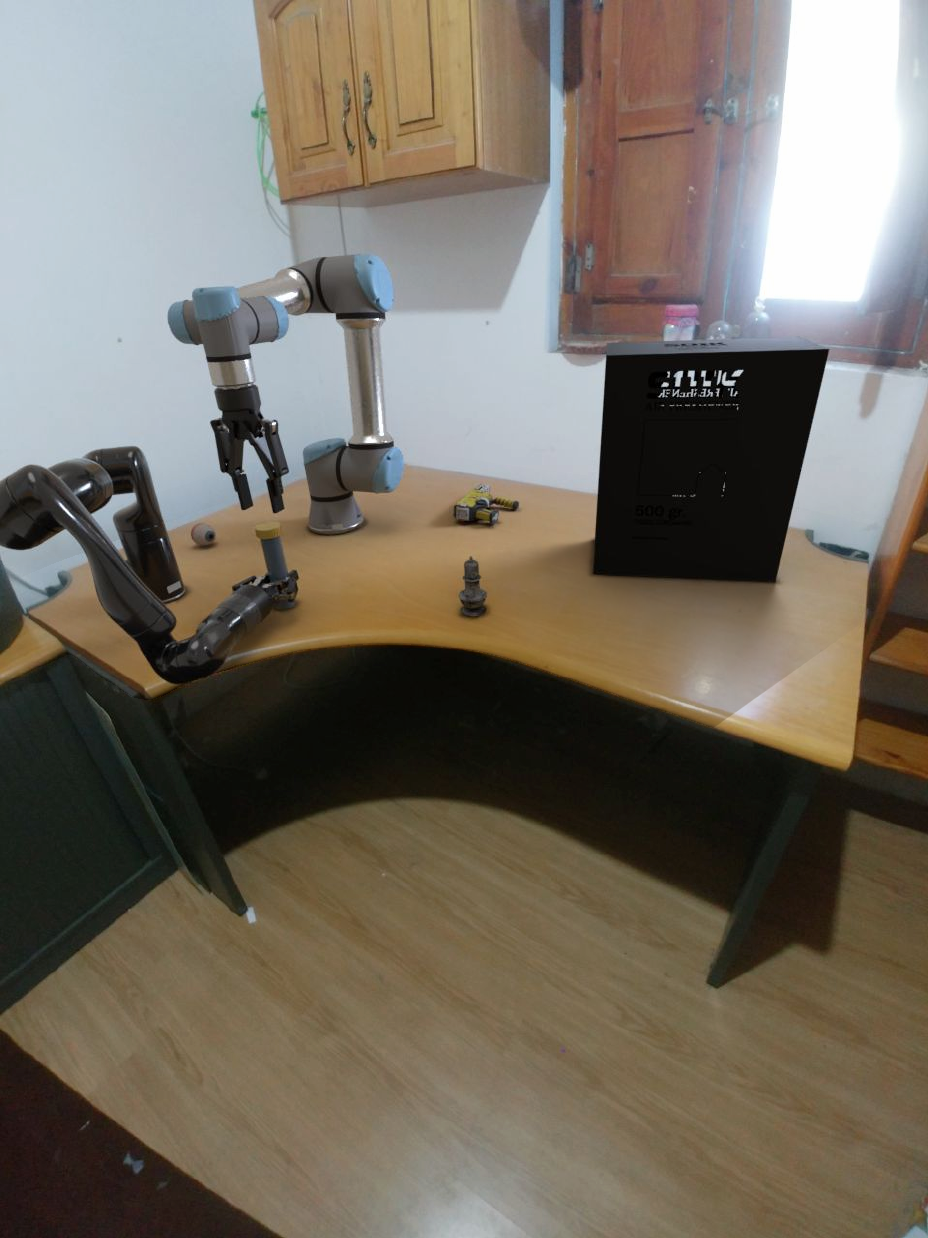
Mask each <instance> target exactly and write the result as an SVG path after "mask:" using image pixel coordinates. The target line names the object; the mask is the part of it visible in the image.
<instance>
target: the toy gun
mask: <svg viewBox="0 0 928 1238" xmlns="http://www.w3.org/2000/svg"><path fill="white" fill-rule="evenodd" d="M493 505H495V506H500V507H504V508H510V509H512V510H514V511H516V510H518V509H519V507H520V502H519V501H518V500H512V499H508V498H504V497H500V496H496V497H495V498H493V496H492V494H491V485H490V484H488V483H486V484H485V483H482V482H481V483H480V484H479V485H477V486H476V487H475V488H473V489H471V491H469V492H468V493H467V494H465V496H464V497H462V498H461V499H460V500H459V501H458V502H456V503H455V504H454V505H453V511H452V513H453V514H452V517H453V518H454V519H455V520H457V522H462V523H464V522H465V521H467V522H471V521H477V520H482V521H483V520H484V521H486V522H489V525H492V526H493V524H495V523H497V522H498V521H499V515H500V509H498V508H494V510H493V509H492V507H491V506H493Z"/></svg>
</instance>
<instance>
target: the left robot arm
mask: <svg viewBox="0 0 928 1238" xmlns="http://www.w3.org/2000/svg"><path fill="white" fill-rule="evenodd" d="M127 494H134V495H135V500H134V501H133V502H132V503H130V504H129V505H127V506H124V507H122V508H120V509H119V510H117V511H115V513H113V515H112V522H113V525H114V527H115V530H116V533H117V535H118V538H119V541H120V544H121V546H122V549H123V552H124V555H125V557H126V559H125V558H124V556H123V555H122V554H121V553H120V551H119V550H118V549H117V547H116V545H115V544H114V542H112V540H111V538H110V537H109V536H108V535H107V533H106V532H105V531H104V530H103V528H102V526H100V524H99V523H98V521H97V520H96V519H95V518H94V516H93V514H95V513H96V512H98V511H100V510H101V509H103V508H104V507H106V506H107V505H108V504H109V502H110V501H111V499H112V497H113V496H119V495H127ZM65 530H66V531H67V532H68V533H69V534H70V535H71V536H72V537H73V538H74V539H75V541H77V543H78V544H79V545H80V547H81V548H82V551H83V552H84V554H85V556H86V558H87V559H86V560H87V561H88V565H89V567H90V571H91V576H92V581H93V585H94V589H95V592H96V597H97V599H98V602H99V604H100V606H101V608H102V610H103V611H104V612H105V613H106V615H107V616H108V617H109V618H110V619H111V620H112V621H113V622H114V623H115V624H116V625H118V627H120V629H122V631H123V632H125V633H126V634H127V635H128V636H129V637H130V638H131V639H133V641H134V642H135V643H136V645H138V648H139V650H140V651H141V653H142V655H143V656H144V658H145V659H146V661H147V663H148V664H149V666H150V667H151V669H152V670H153V672H154V673H155V674H156V675H157V676H158V677H159V678H161V680H163V681H165V682H166V683H169V684H172V685H183V684H187V683H191V682H194V681H197V680H200V679H204V678H207V677H209V676H211V675H213V674H215V672H217V671H218V670H219V669H220V668H221V667H222V666H223V665H224V663H225V662H226V660H227V658H228V657H229V655H230V653H231V651H232V649H233V648H235V646H236V645H237V644H238V643H239V642H241V640H243V638H245V637H246V636H248V635H249V634H251V633H252V632H253V631H254V630H255V629H256V628H257V627H258V626H259V625H260V624H261V623H262V622H263V621H264V620H265V619H266V618H267V617H268V616H269V615H271V612H272V610H273V607H274V605H275V604H276V603H278V602H280V600H282V599H288V602H290V603H291V602H294V601H295V600H296V598H297V595H298V592H299V585H298V580H299V579H300V577H299V573H298V570H297V569H291V570H290V571H289V572H288V574H287V575H286V576H285V577H284V578H283V579H281V580H278V579H277V580H275V581H273V582H271V583H270V580H269V576H268V571H267V572H266V573H265V574H261V575H259V576H258V577H257V576H256V575H252V576H251V575H250V576H249V577H247V578H245V579H243V580H241V581H240V582H238V583H236V584H234V585H232V586H231V590H232V593H231V594H230V595H229V596H228V597H227V598H225V599H224V600H223V601H222V602H220V604H219V605H218V606H217V607H216V608H215V609H214V610H213V611H212V612H211V613H209V614H208V615H207V616H206V617H205V618H204V619H202V620H201V622H200V623H199V624H198V625H197V627H196V630H195V634H194V635H192V636H190V637H188V638H184V639H182V640H179V641H178V640H177V639H175V637H174V636H173V634H172V632H173V631H174V630H175V628H176V627H177V617H176V615H175V614H174V612H173V611H172V610H171V609H170V607H168V606H167V603H168V604H169V603H171V602H173V601H176V600H179V599H180V598H181V597H183V596H184V595H185V594H186V592H187V589H186V586H185V584H184V581H183V577H182V574H181V571H180V567H179V565H178V562H177V558H176V555H175V552H174V549H173V546H172V543H171V540H170V536H169V533H168V530H167V528H166V524H165V521H164V518H163V515H162V511H161V507H160V502H159V500H158V495H157V492H156V489H155V486H154V481H153V477H152V474H151V469H150V465H149V462H148V460H147V457H146V455H145V454H144V451H142V449H141V448H140V447H139V446H137V445H124V446H114V447H103V448H96V449H94V450H93V449H92V450H90V451H89V452H87V453H85V454H84V455H83V456H81V457H80V458H79V457H76V458H71V459H66V460H63V461H61V462H57V463H55V464H53V465H51V466H49V467H47V468H46V467H45V466H43V465H39V464H35V463H33V464H31V463H30V464H27V465H24V466H22V467H20V468H18V469H17V470H16V471H14V472H12V473H11V474H9V475H8V476H6V477H4V478H2V479H1V480H0V547H2V548H6V549H9V550H13V551H14V550H15V551H27V550H28V551H29V550H32V549H35V548H37V547H39V546H40V545H42V544H44V543H45V542H47V541H48V540H50V539H52V538H53V537H55V536H56V535H58V534H60V533H61V532H64V531H65ZM250 583H251V584H250ZM284 583H285V587H284V586H283V584H284Z"/></svg>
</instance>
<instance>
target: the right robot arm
mask: <svg viewBox="0 0 928 1238" xmlns="http://www.w3.org/2000/svg"><path fill="white" fill-rule="evenodd" d="M394 291H395V290H394V285H393V281H392V276H391V274H390V271H389V269H388V268H387V266H386V264H385V262H384V261H383V259H381V258H380V257H379V256H377V255H376V254H371V253H369V254H367V253H355V254H345V255H334V256H333V255H332V256H319V257H315V258H314V257H313V258H311V259H308V260H305V261H302V262H300V263H297V264H294V265H292V266H288V267H286V268H283V269H280V270H279V271H278V272H277V273H276V274H275V275H274V277H270V278H267V279H264V280H261V281H260V280H259V281H257V282H254V283H250V284H246V285H243V286H239V287H235V286H234V285H226V286H225V285H224V286H209V287H207V286H206V287H197V288H194V289H193V290H192V293H191V300H189V299H183V300H180V301H174V302H173V303H172V304H171V305H170V306H169V308H168V310H167V316H166V317H167V324H168V326H169V329H170V332H171V334H172V335H173V336H174V338H175V339H176V340H177V341H179V342H180V343H182V344H185V345H194V346H200V345H202V346H203V350H204V354H205V360H206V364H207V367H208V372H209V377H210V381H211V385H212V386H214V387H215V389H214V390H213V393H214V397H215V401H216V406H217V409H218V410H219V411H220V412H221V417H218V418H214V419H212V420H210V421H209V424H210V427H211V429H212V431H213V433H214V440H215V447H216V451H217V459H218V463H219V469H220V472H221V473H222V474H225V473H226V474H227V475H229V476H230V477H231V481H232V486H233V489H234V492H235V493H237V496H238V501H239V505H240V509H241V511H246V510H248V509H251V508H253V507H254V501H253V498H252V493H251V489H250V488H251V487H250V485H249V479H248V475H247V473H244V472H245V470H244V469H243V463H244V449H245V448H244V447H245V441H247V442H248V443H249V445H250V446H251V447H253V449H254V451H255V453H256V455H257V456H258V459H259V461H260V463H261V465H262V467H263V469H264V471H265V472H266V475H267V478H266V479H265V482H266V488H267V492H268V496H269V501H270V505H271V510H272V514H279V513H280V512H282V511H283V510H285V504H284V498H283V494H284V493H285V492H284V490H285V489H284V486H283V481H282V477H283V476H285V475H288V474H289V473H290V469H289V466H288V461H287V459H286V455H285V451H284V448H283V444H282V441H281V437H280V434H279V421H278V420H277V419H272V420H270V419H268V418H265V417H264V415H263V413H262V411H261V406H262V399H261V395H260V390H259V387H258V386H257V385H256V384H254V383H255V382H256V381H257V377H256V372H255V368H254V363H253V358H252V353H251V352H252V351H251V348H250V346H251V345H257V344H258V345H259V344H265V343H274V342H276V341H279V340H281V339H283V338H284V337H285V336H286V335H287V333H288V331H289V329H290V317H289V315H291V316H295V317H296V316H297V317H298V316H302V315H304V314H335V322H336V323H337V324H338V325H339V326H340V327H341V328H342V330H343V338H344V350H345V359H346V361H345V362H346V370H347V371H346V373H347V381H348V392H349V400H350V401H349V404H350V414H351V425H352V434H351V436H350V437H349V438H348V440H347V441H346V439H345V438H342V437H334V438H328V439H323V440H320V441H319V440H318V441H316V442H313V443H309V444H308V445H306V446H305V447H304V448H303V450H302V457H303V458H302V460H303V467H304V471H305V477H306V481H307V486H308V492H309V498H310V507H309V513H308V523H307V524H308V528H309V529H308V530H310V531H311V532H312V533H314V534H317V535H323V536H324V535H325V536H327V535H329V536H331V535H339V534H340V535H341V534H345V533H350V532H353V531H355V530H357V529H359V528H361V527H362V526H363V525H364V523H365V519H364V514H363V512H362V510H361V508H360V505H359V504H358V501H357V500H356V498H355V495H354V492H359V493H371V494H372V493H373V494H376V495H378V494H390V493H392V492H394V491H395V490H396V489H397V488H398V486H399V485H400V483H401V481H402V478H403V474H404V466H405V459H404V454H403V452H402V450H401V449H400V448H398V446H397V447H396V446H395V441H394V438H393V436H391V434H389V433H388V426H387V425H388V424H387V412H386V397H385V383H384V382H385V381H384V367H383V354H382V353H383V352H382V340H381V339H382V338H381V327H382V326H383V325H384V324H385V322H386V313H387V312H389V311H391V310H392V308H393V306H394V302H393V301H395V300H394V299H395V294H394V293H395V292H394Z"/></svg>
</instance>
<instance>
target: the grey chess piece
mask: <svg viewBox="0 0 928 1238" xmlns="http://www.w3.org/2000/svg"><path fill="white" fill-rule="evenodd" d="M463 572H464V574H463V576H462V579H463V583H464V588H463V589H462V590H461V591H459V592H458V594H457V596H458V597H457V598H458V599H459V601H460V603H461V605H462V606H461V608H460V613H461V615H463V616H466V617H479V616H482V615H484V614H486V612H487V607H486V606H485V605H484V604H485V602H486V601H487V597H488V591H486V590H485V589H483V588H481V581H480V580H482V575H480V567H479V562H478V561H477V560H475V559H473V556H472V555H469V557H468V559H467V560H465V561H464V563H463Z"/></svg>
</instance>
